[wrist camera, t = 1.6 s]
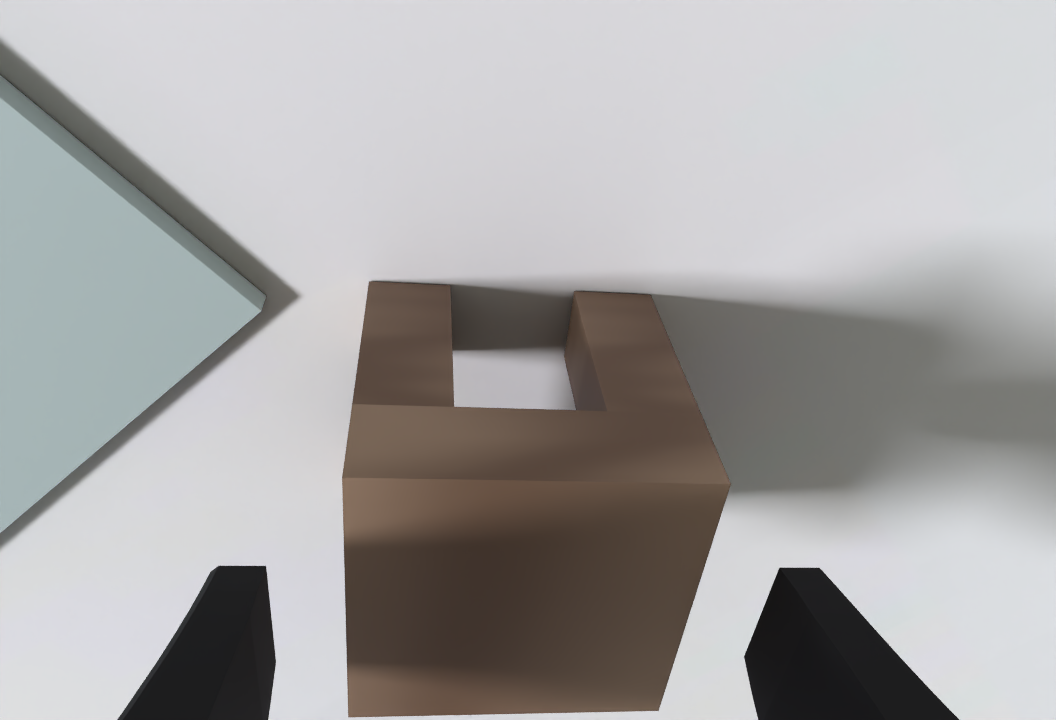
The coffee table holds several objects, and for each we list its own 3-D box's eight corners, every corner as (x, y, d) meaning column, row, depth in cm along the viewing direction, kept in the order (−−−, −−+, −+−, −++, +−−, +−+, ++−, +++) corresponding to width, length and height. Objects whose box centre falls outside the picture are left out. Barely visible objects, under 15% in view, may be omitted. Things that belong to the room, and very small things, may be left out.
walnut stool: (650, 294, 15) (730, 484, 11) (607, 498, 18) (658, 710, 14) (369, 281, 14) (342, 477, 10) (369, 495, 17) (348, 717, 13)
